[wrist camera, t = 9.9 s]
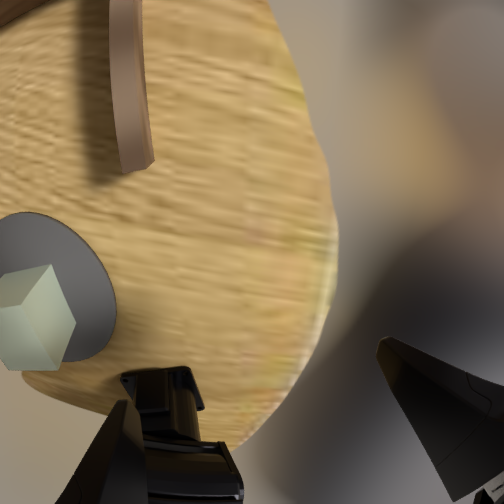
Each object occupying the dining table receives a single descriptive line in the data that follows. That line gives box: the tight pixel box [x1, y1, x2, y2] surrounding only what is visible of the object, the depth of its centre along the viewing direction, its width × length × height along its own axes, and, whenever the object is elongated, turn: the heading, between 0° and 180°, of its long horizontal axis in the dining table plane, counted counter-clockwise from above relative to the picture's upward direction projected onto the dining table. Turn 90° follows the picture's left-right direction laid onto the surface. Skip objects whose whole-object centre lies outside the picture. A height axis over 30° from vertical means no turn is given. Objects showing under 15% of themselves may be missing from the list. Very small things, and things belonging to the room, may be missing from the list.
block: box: [0, 264, 76, 371], centre depth 14 cm, size 5×5×5 cm
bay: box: [0, 0, 155, 174], centre depth 9 cm, size 15×16×4 cm
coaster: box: [0, 212, 116, 362], centre depth 16 cm, size 13×13×1 cm
